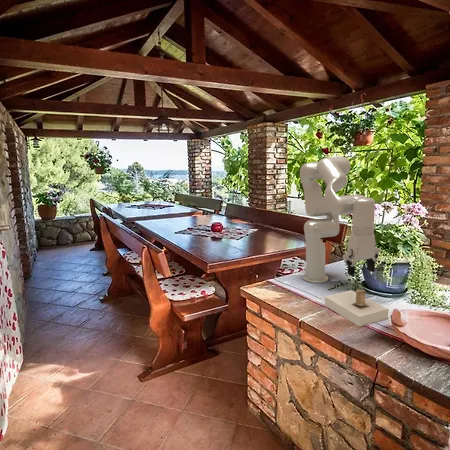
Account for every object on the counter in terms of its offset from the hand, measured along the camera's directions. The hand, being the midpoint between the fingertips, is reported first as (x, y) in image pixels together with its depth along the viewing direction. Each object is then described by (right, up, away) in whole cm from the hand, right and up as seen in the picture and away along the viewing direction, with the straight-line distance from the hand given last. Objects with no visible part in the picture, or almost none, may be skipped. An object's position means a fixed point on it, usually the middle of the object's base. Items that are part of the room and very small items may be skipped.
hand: (361, 273), depth 125 cm
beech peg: (+1, -17, +3) cm, 18 cm away
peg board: (0, -17, +6) cm, 18 cm away
